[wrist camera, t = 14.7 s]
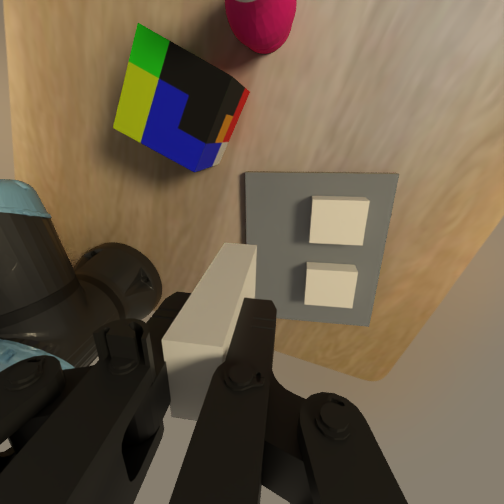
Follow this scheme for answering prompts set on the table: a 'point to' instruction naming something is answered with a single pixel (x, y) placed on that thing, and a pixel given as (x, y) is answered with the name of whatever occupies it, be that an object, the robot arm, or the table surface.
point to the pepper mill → (261, 22)
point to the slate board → (301, 251)
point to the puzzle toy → (177, 102)
